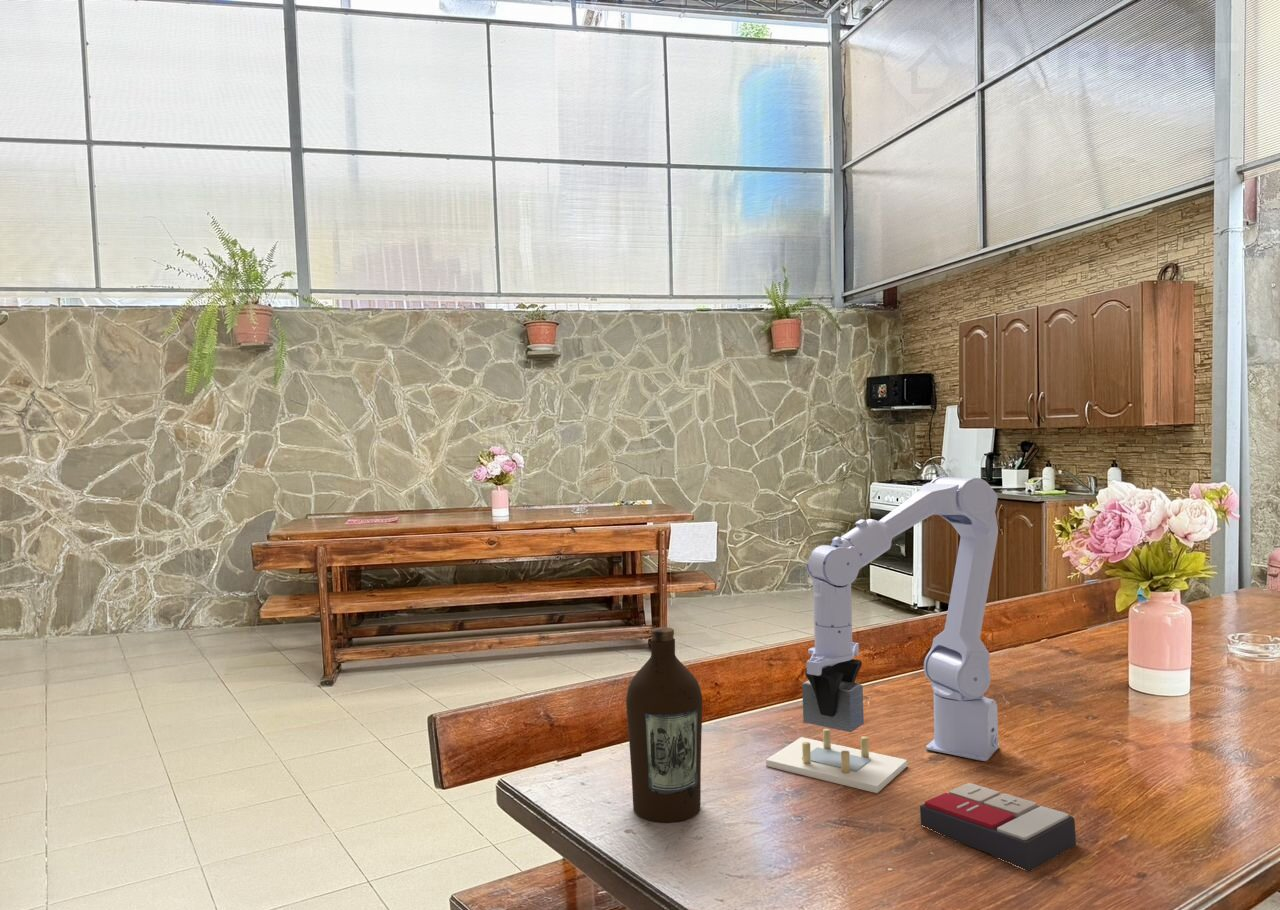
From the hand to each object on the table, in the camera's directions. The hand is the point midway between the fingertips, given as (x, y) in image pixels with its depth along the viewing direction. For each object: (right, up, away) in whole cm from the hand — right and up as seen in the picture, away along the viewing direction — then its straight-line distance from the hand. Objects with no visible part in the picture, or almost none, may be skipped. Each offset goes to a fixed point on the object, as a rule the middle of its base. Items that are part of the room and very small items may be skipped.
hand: (834, 710), depth 130 cm
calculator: (+15, -9, -23) cm, 29 cm away
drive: (0, -2, 0) cm, 2 cm away
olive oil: (-27, -10, -13) cm, 31 cm away
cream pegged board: (0, -9, 0) cm, 9 cm away
